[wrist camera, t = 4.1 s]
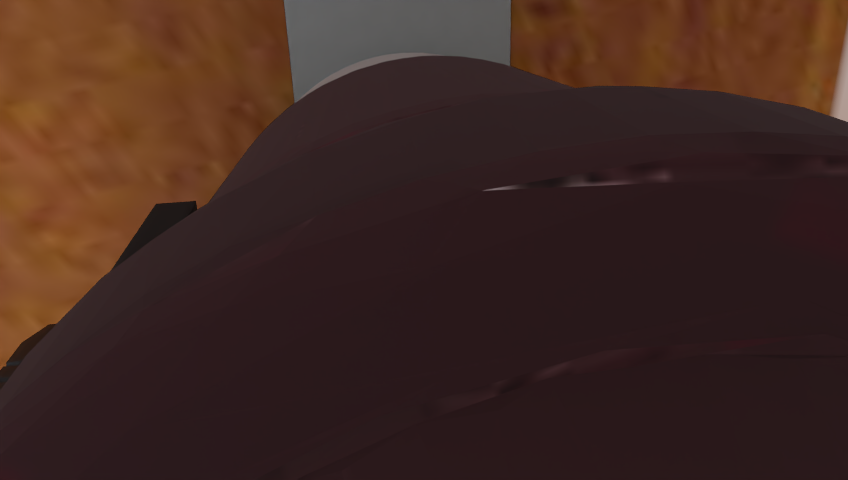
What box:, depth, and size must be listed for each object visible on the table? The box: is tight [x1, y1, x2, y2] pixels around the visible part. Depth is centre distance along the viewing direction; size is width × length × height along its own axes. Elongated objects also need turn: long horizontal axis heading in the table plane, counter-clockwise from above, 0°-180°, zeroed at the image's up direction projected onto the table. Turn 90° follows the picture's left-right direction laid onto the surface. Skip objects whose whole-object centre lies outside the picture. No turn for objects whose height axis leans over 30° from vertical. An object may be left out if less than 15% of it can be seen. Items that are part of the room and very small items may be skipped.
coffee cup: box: [0, 53, 848, 480], centre depth 10 cm, size 10×10×15 cm
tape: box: [284, 0, 511, 103], centre depth 17 cm, size 14×5×1 cm, turn 2°
